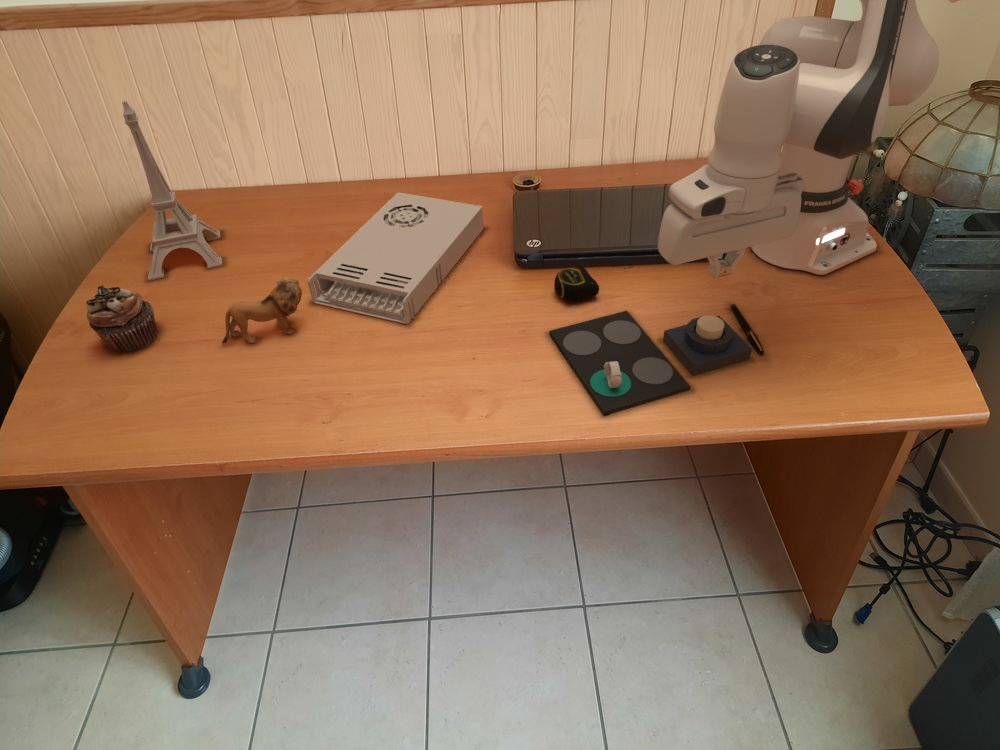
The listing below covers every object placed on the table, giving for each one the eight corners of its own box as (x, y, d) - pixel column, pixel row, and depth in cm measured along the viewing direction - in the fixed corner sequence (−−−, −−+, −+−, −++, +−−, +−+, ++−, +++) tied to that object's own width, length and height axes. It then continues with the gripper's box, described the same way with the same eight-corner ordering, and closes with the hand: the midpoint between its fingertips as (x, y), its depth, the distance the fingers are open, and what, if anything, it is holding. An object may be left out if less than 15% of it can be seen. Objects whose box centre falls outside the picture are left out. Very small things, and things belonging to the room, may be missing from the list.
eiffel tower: (220, 232, 142) (166, 82, 122) (222, 265, 133) (165, 109, 113) (151, 245, 140) (85, 94, 119) (148, 280, 130) (76, 123, 110)
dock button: (713, 321, 109) (714, 312, 107) (727, 336, 106) (729, 327, 105) (690, 327, 108) (692, 318, 106) (704, 343, 105) (706, 334, 104)
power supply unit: (313, 303, 123) (306, 279, 119) (400, 213, 145) (397, 192, 142) (408, 325, 117) (404, 301, 114) (484, 228, 139) (482, 206, 136)
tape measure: (599, 300, 120) (601, 282, 117) (562, 309, 118) (563, 291, 116) (584, 279, 125) (585, 261, 122) (548, 287, 123) (548, 269, 121)
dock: (716, 326, 113) (721, 306, 111) (749, 359, 107) (754, 339, 104) (662, 341, 111) (665, 321, 108) (692, 376, 105) (696, 356, 102)
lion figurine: (306, 311, 121) (293, 267, 115) (314, 327, 117) (301, 283, 111) (220, 337, 117) (202, 293, 110) (226, 355, 113) (208, 311, 107)
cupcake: (157, 352, 114) (133, 303, 108) (96, 360, 113) (68, 311, 107) (168, 317, 121) (146, 269, 115) (110, 324, 120) (85, 276, 114)
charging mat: (626, 314, 117) (626, 309, 116) (689, 390, 103) (690, 385, 102) (549, 334, 114) (549, 329, 113) (603, 415, 99) (604, 410, 99)
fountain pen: (725, 303, 118) (727, 296, 117) (732, 302, 118) (734, 295, 117) (758, 358, 107) (760, 350, 106) (766, 357, 107) (768, 350, 106)
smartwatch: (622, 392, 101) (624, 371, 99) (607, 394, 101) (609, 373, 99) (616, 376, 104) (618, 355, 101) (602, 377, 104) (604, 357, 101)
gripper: (791, 160, 95) (768, 248, 104) (658, 188, 90) (646, 278, 99) (822, 179, 90) (795, 269, 100) (683, 210, 86) (669, 302, 95)
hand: (720, 274), depth 99 cm, fingers closed
